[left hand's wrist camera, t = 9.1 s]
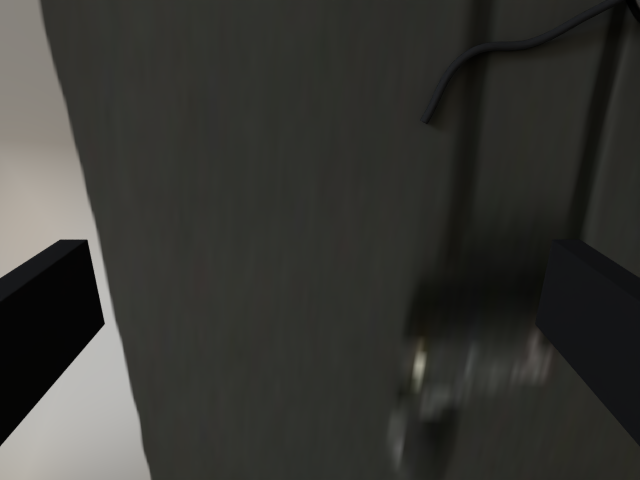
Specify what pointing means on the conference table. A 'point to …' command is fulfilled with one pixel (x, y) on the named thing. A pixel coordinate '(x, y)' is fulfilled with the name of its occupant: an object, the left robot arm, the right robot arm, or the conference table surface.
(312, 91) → the conference table surface
